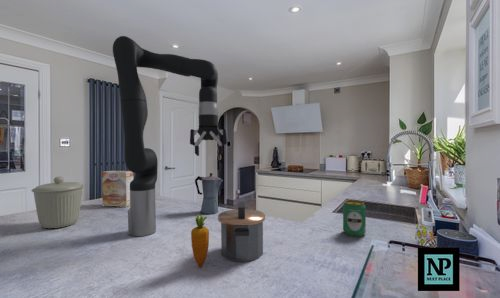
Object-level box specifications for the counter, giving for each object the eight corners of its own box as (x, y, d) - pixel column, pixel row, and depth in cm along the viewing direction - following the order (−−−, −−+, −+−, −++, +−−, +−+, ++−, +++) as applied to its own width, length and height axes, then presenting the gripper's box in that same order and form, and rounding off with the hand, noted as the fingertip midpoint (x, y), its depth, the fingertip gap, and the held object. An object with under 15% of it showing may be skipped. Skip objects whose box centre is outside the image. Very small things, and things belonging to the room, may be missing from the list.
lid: (215, 229, 73) (215, 210, 73) (220, 214, 88) (220, 199, 88) (267, 228, 74) (267, 210, 74) (263, 213, 89) (263, 198, 89)
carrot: (192, 263, 74) (192, 212, 74) (209, 262, 75) (209, 212, 74) (190, 272, 69) (189, 217, 69) (208, 271, 70) (208, 216, 69)
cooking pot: (219, 265, 73) (219, 227, 73) (223, 242, 90) (223, 211, 89) (264, 264, 73) (264, 226, 73) (260, 241, 90) (260, 211, 90)
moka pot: (220, 215, 123) (220, 174, 122) (190, 214, 126) (190, 173, 125) (226, 210, 132) (225, 172, 132) (198, 209, 135) (197, 171, 135)
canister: (22, 229, 105) (21, 178, 105) (67, 217, 122) (66, 173, 121) (50, 234, 98) (48, 180, 98) (94, 221, 115) (93, 175, 115)
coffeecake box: (102, 206, 142) (101, 171, 141) (111, 203, 149) (110, 170, 148) (126, 207, 139) (125, 172, 139) (134, 204, 146) (133, 170, 146)
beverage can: (343, 235, 95) (343, 204, 95) (343, 228, 103) (343, 199, 102) (366, 238, 93) (366, 205, 92) (364, 231, 100) (364, 200, 100)
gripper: (188, 113, 96) (188, 156, 96) (225, 113, 96) (226, 156, 97) (192, 115, 103) (192, 155, 104) (227, 115, 104) (227, 155, 104)
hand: (208, 155), depth 100 cm, fingers open, 8 cm apart
